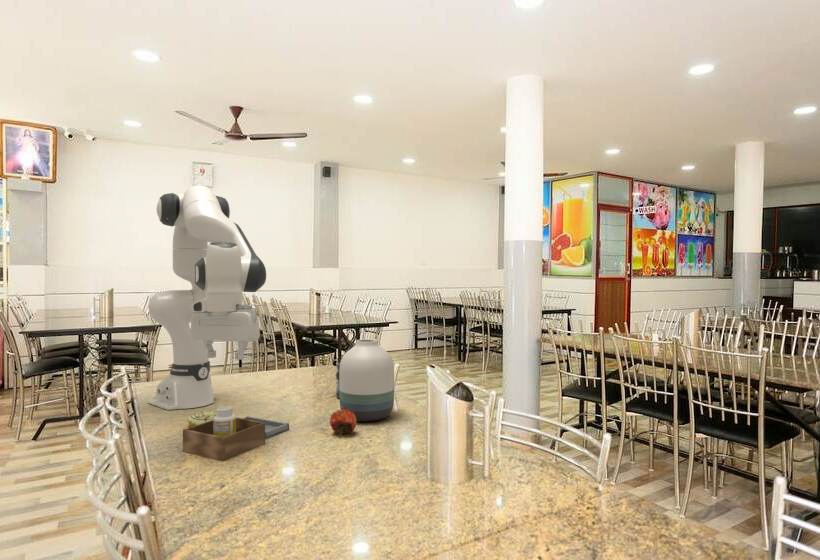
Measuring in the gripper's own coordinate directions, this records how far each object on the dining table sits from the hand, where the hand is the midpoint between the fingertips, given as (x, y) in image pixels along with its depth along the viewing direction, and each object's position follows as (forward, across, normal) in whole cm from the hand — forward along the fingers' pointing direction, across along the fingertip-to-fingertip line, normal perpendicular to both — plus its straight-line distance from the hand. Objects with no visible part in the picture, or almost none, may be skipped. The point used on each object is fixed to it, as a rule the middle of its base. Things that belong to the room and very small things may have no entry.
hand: (225, 358), depth 133 cm
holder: (+23, +1, -1) cm, 23 cm away
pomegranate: (+24, -21, -23) cm, 39 cm away
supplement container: (+22, -1, -60) cm, 64 cm away
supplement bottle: (+23, +1, -1) cm, 23 cm away
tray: (+23, +4, -15) cm, 27 cm away
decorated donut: (+23, +20, -13) cm, 33 cm away
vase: (+23, -19, -40) cm, 50 cm away
